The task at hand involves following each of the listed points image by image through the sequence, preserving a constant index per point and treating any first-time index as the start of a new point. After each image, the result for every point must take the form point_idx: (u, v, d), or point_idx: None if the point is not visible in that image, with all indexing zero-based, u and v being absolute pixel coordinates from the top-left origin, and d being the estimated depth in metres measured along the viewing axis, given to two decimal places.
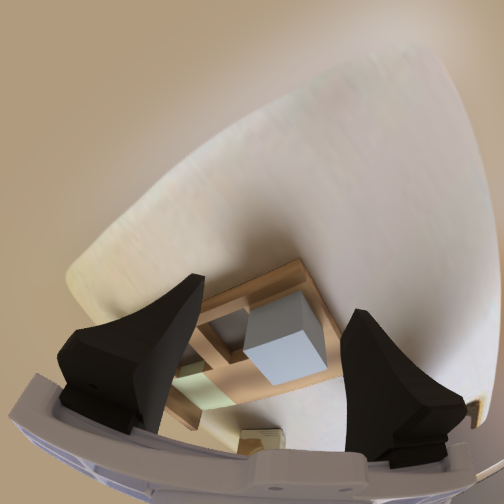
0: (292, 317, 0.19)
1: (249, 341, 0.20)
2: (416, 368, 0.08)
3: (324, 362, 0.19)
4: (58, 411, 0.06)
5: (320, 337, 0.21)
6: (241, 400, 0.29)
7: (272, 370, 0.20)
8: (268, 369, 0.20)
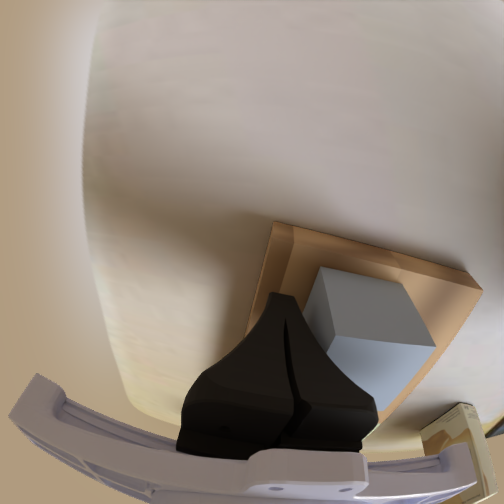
0: (322, 319, 0.11)
1: None
2: (326, 359, 0.08)
3: (423, 343, 0.09)
4: (58, 411, 0.06)
5: (398, 305, 0.11)
6: (382, 417, 0.19)
7: None
8: None
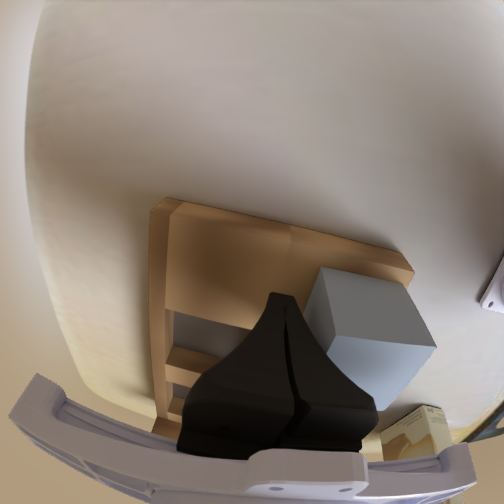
0: (323, 319, 0.11)
1: None
2: (326, 358, 0.08)
3: (423, 343, 0.09)
4: (58, 411, 0.06)
5: (399, 305, 0.11)
6: None
7: None
8: None
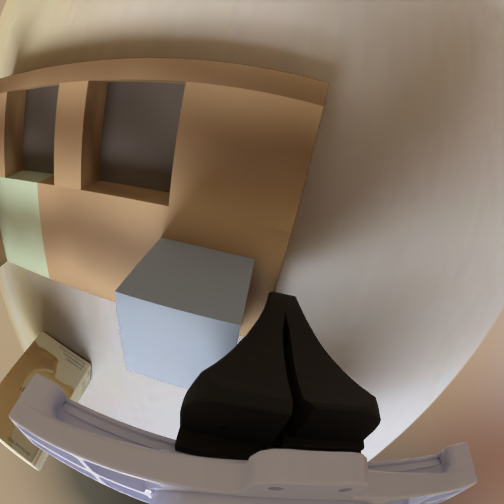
0: (227, 291, 0.11)
1: (135, 282, 0.10)
2: (328, 359, 0.08)
3: None
4: (58, 411, 0.06)
5: None
6: (59, 276, 0.15)
7: (139, 350, 0.10)
8: (134, 345, 0.10)
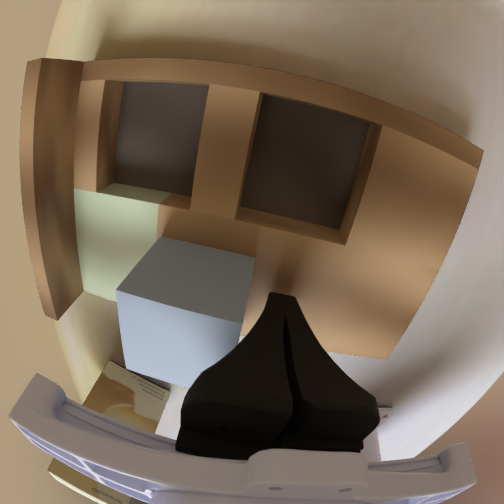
0: (229, 289, 0.11)
1: (135, 280, 0.10)
2: (328, 359, 0.08)
3: None
4: (58, 411, 0.06)
5: None
6: None
7: (140, 349, 0.10)
8: (135, 344, 0.10)
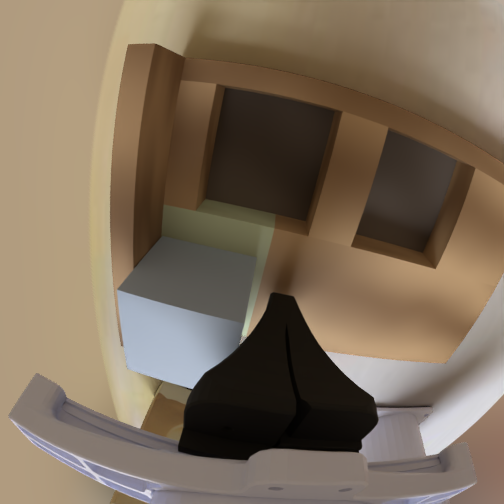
0: (230, 289, 0.11)
1: (137, 280, 0.10)
2: (326, 359, 0.08)
3: None
4: (58, 411, 0.06)
5: None
6: None
7: (141, 349, 0.10)
8: (136, 344, 0.10)
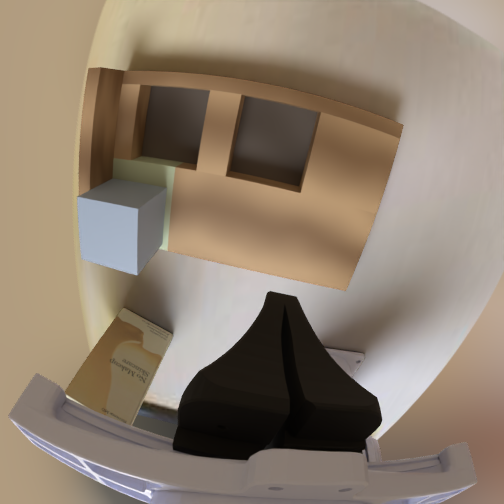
0: (139, 198, 0.17)
1: (89, 193, 0.16)
2: (329, 359, 0.08)
3: (138, 265, 0.17)
4: (58, 411, 0.06)
5: (152, 244, 0.19)
6: (181, 247, 0.21)
7: (89, 238, 0.16)
8: (86, 235, 0.16)
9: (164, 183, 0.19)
